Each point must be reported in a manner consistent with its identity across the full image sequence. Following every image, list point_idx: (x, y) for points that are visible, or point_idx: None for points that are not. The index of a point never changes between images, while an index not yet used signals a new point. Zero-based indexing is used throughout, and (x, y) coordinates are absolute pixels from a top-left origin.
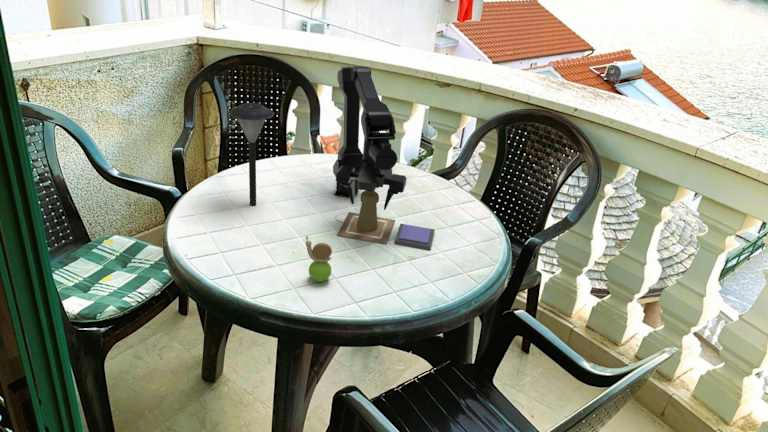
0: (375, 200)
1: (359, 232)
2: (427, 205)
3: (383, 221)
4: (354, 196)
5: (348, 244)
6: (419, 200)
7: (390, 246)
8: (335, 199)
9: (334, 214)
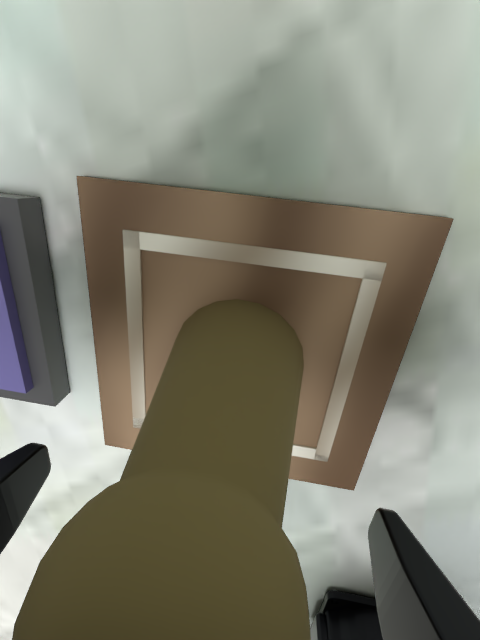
0: (49, 558)
1: (278, 283)
2: (25, 553)
3: None
4: (387, 630)
5: (354, 95)
6: None
7: (52, 157)
8: None
9: (439, 466)
